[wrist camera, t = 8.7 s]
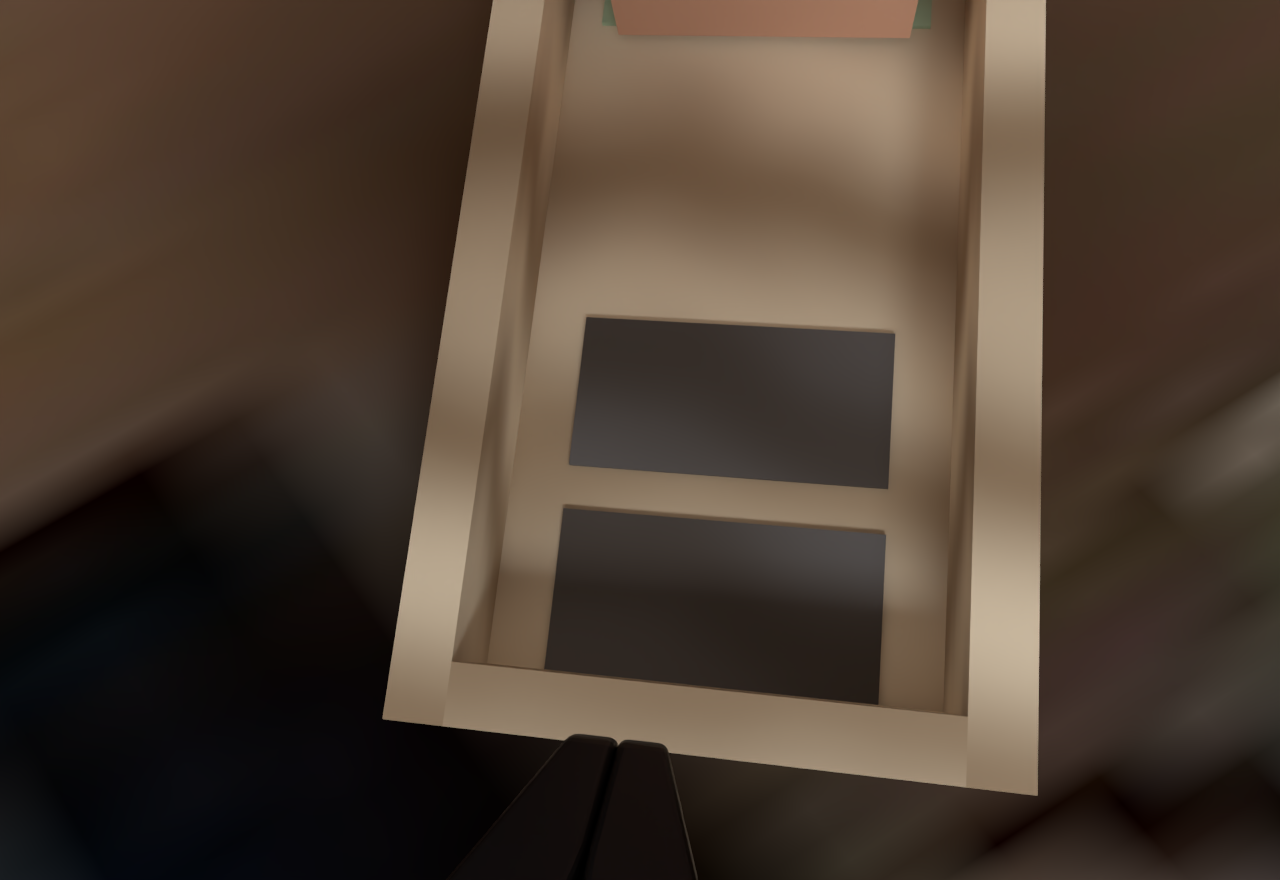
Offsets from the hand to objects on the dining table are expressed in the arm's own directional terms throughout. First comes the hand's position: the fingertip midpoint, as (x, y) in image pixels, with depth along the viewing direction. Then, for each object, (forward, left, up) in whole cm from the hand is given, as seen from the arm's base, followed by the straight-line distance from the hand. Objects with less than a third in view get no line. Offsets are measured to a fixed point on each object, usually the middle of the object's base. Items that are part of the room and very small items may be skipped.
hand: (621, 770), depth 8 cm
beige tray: (+8, -8, -13) cm, 18 cm away
